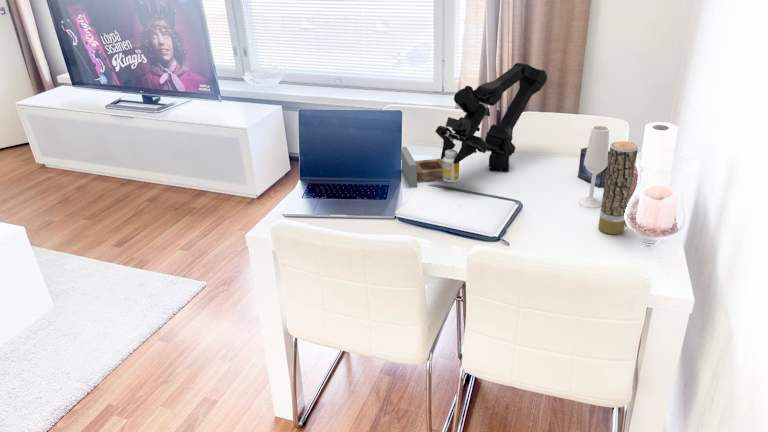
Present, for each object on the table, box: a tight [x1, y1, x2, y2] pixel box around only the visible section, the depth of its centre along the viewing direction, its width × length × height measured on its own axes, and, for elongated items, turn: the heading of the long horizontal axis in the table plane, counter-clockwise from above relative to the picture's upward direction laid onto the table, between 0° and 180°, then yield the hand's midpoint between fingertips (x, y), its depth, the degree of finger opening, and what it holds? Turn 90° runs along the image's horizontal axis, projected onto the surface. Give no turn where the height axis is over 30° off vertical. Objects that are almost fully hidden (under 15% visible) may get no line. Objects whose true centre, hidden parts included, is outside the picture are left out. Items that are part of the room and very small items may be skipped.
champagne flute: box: [578, 125, 610, 208], centre depth 175 cm, size 7×7×24 cm
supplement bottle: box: [443, 148, 460, 183], centre depth 189 cm, size 5×5×10 cm
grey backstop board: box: [401, 146, 418, 188], centre depth 201 cm, size 2×18×8 cm, turn 9°
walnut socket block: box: [414, 158, 444, 184], centre depth 203 cm, size 11×11×4 cm
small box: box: [577, 147, 610, 189], centre depth 193 cm, size 11×6×10 cm, turn 25°
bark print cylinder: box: [598, 140, 639, 235], centre depth 159 cm, size 7×7×25 cm
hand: (448, 161), depth 188 cm, fingers closed on supplement bottle, 5 cm apart
